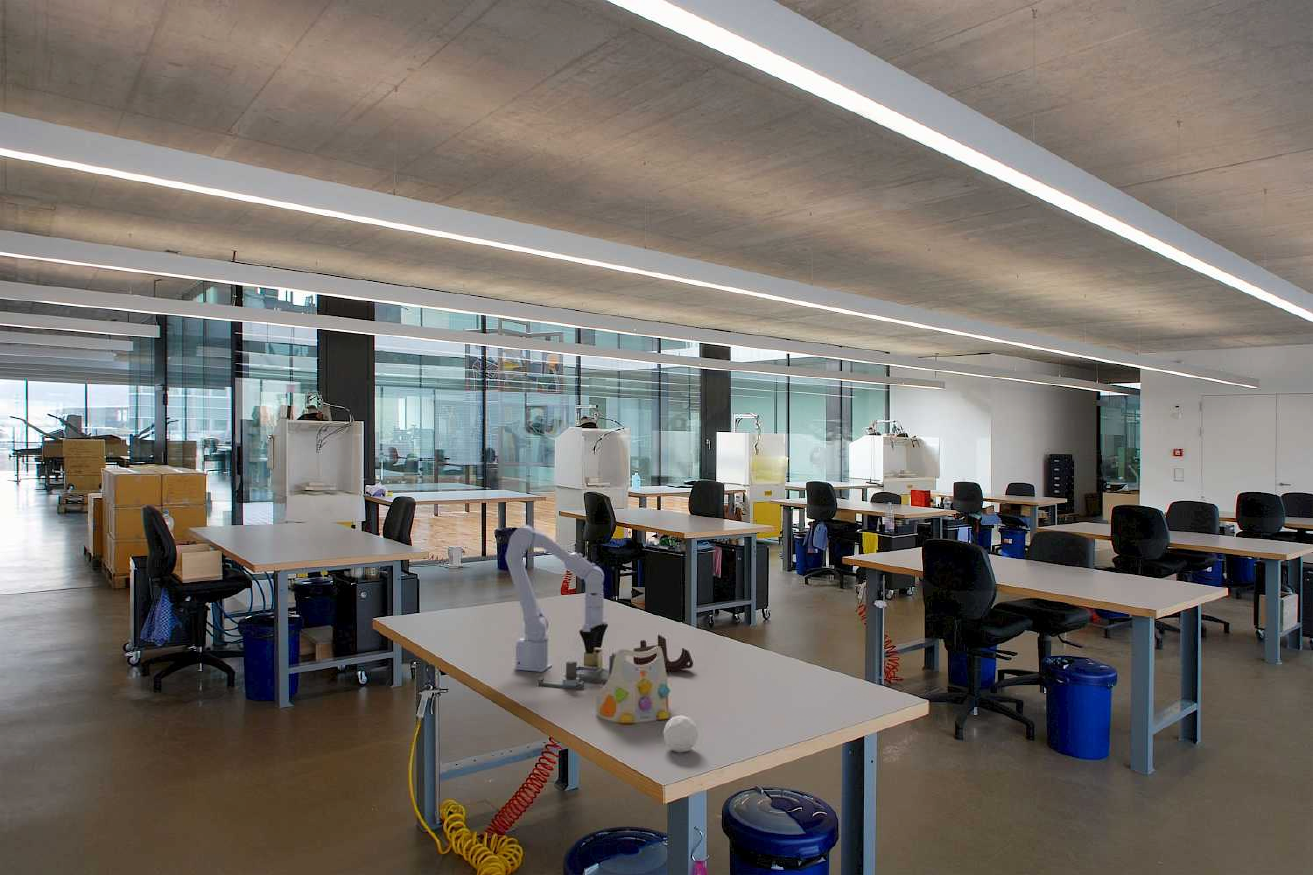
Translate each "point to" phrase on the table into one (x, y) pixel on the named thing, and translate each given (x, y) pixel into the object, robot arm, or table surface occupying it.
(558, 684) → the rail
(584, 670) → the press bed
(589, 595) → the robot arm
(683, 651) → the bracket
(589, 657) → the housing
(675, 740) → the ball
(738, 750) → the table surface
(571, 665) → the lever
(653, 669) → the shape sorter
